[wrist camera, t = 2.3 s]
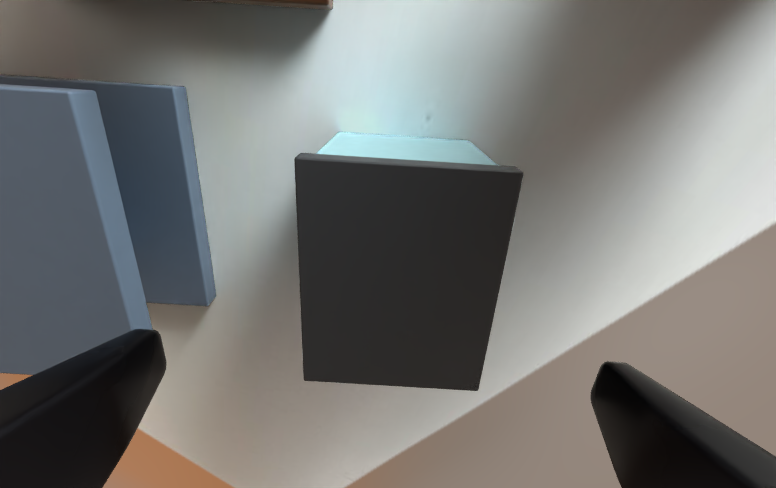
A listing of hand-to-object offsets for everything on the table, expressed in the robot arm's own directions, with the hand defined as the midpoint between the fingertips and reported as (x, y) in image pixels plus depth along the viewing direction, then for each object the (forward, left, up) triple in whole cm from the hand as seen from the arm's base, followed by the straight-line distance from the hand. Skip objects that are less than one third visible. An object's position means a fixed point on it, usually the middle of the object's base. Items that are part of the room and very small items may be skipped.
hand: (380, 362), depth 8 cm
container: (0, +1, -10) cm, 10 cm away
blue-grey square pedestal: (+14, +1, -10) cm, 17 cm away
